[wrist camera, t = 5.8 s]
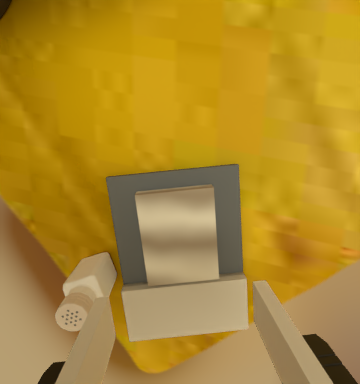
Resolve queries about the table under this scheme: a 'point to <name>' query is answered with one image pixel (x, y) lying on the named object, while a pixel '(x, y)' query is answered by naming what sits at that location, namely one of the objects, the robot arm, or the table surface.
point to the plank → (178, 234)
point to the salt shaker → (85, 290)
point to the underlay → (190, 291)
